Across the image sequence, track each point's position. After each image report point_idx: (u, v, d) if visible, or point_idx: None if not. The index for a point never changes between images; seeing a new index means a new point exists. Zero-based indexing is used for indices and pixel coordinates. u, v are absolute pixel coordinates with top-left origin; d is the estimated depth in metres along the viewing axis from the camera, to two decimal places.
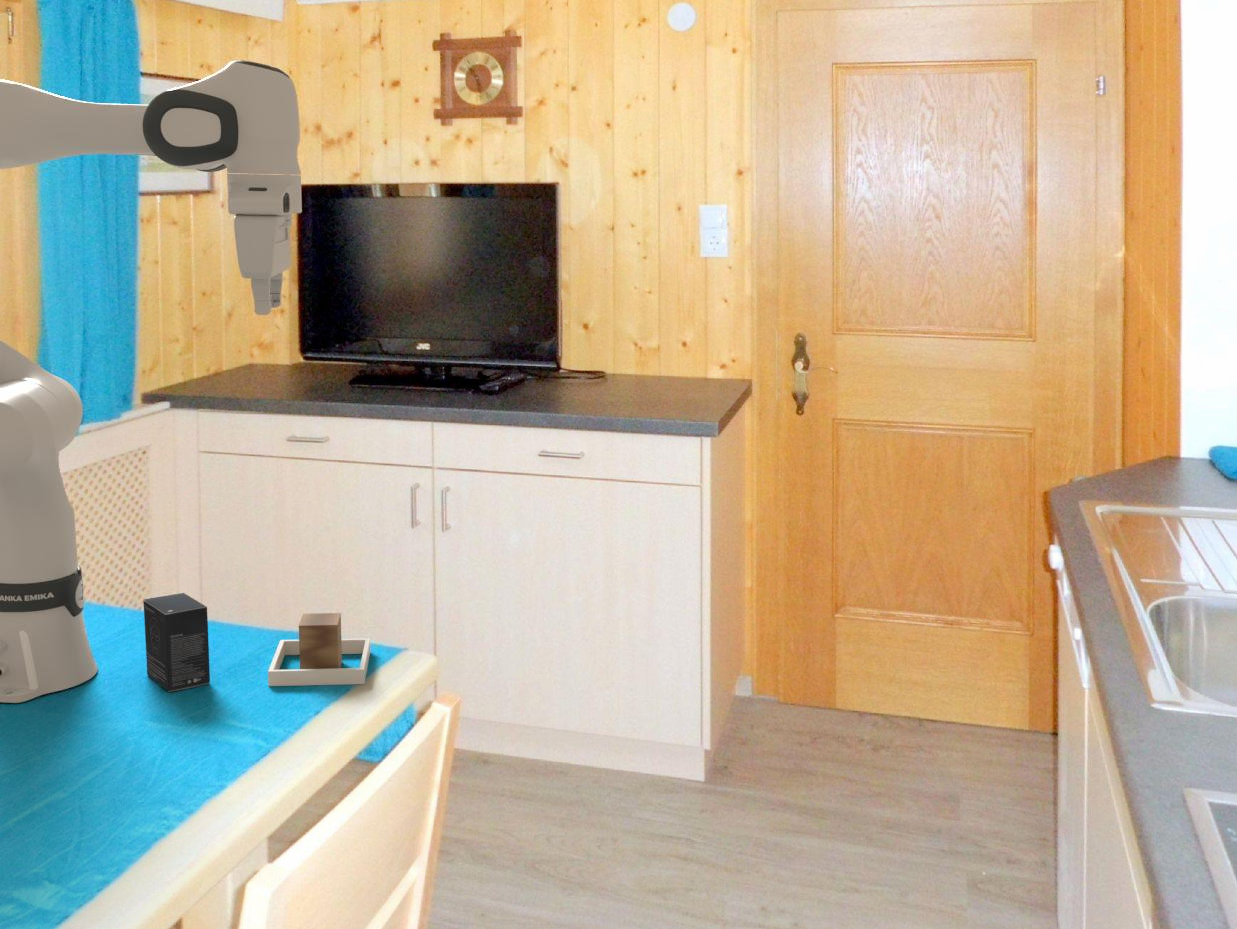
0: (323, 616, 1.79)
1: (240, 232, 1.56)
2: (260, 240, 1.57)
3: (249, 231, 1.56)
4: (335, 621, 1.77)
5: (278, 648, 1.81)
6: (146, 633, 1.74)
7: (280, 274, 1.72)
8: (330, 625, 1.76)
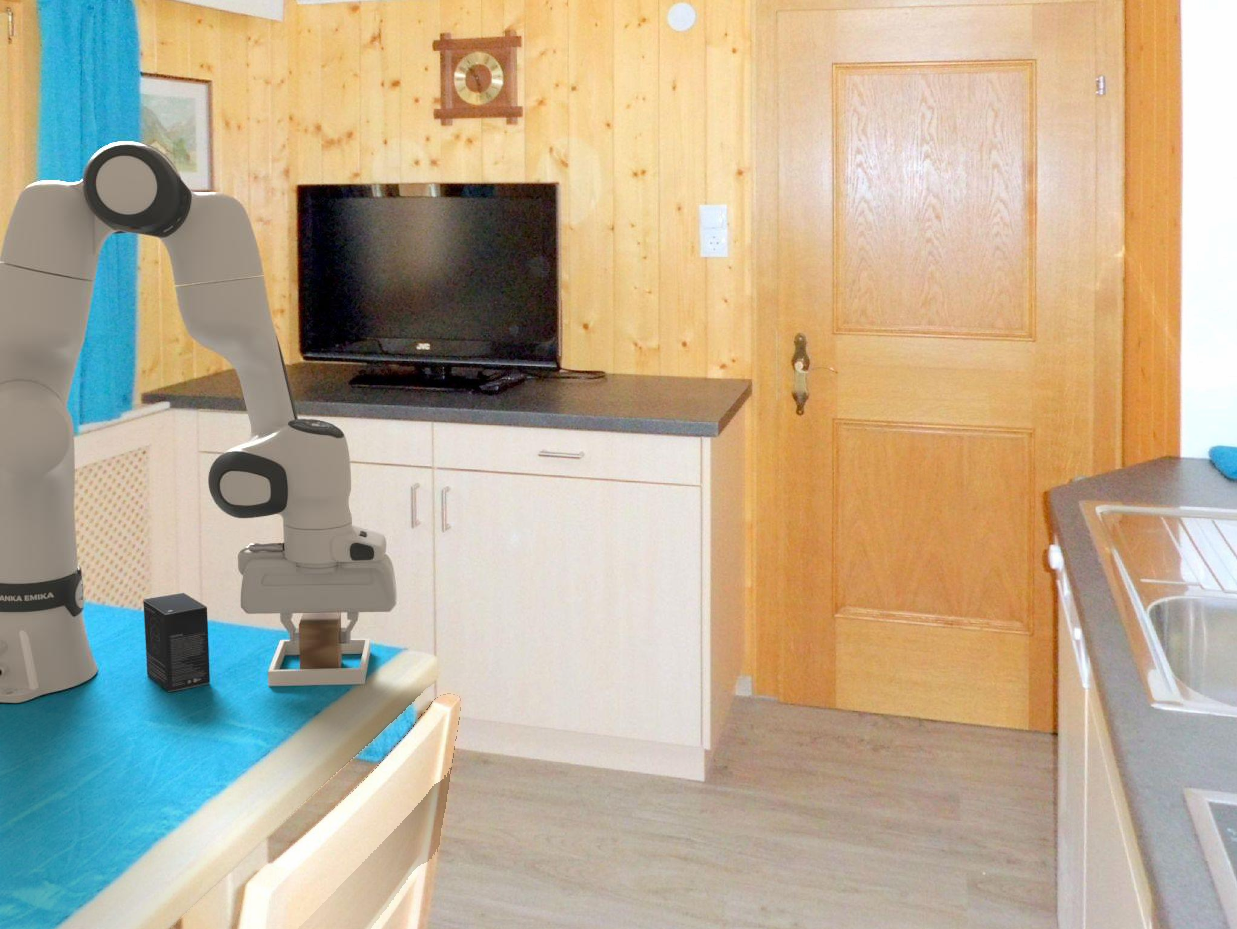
0: (323, 616, 1.79)
1: (391, 573, 1.76)
2: (393, 574, 1.78)
3: (391, 570, 1.77)
4: (335, 620, 1.77)
5: (278, 648, 1.81)
6: (146, 633, 1.74)
7: None
8: (330, 625, 1.76)
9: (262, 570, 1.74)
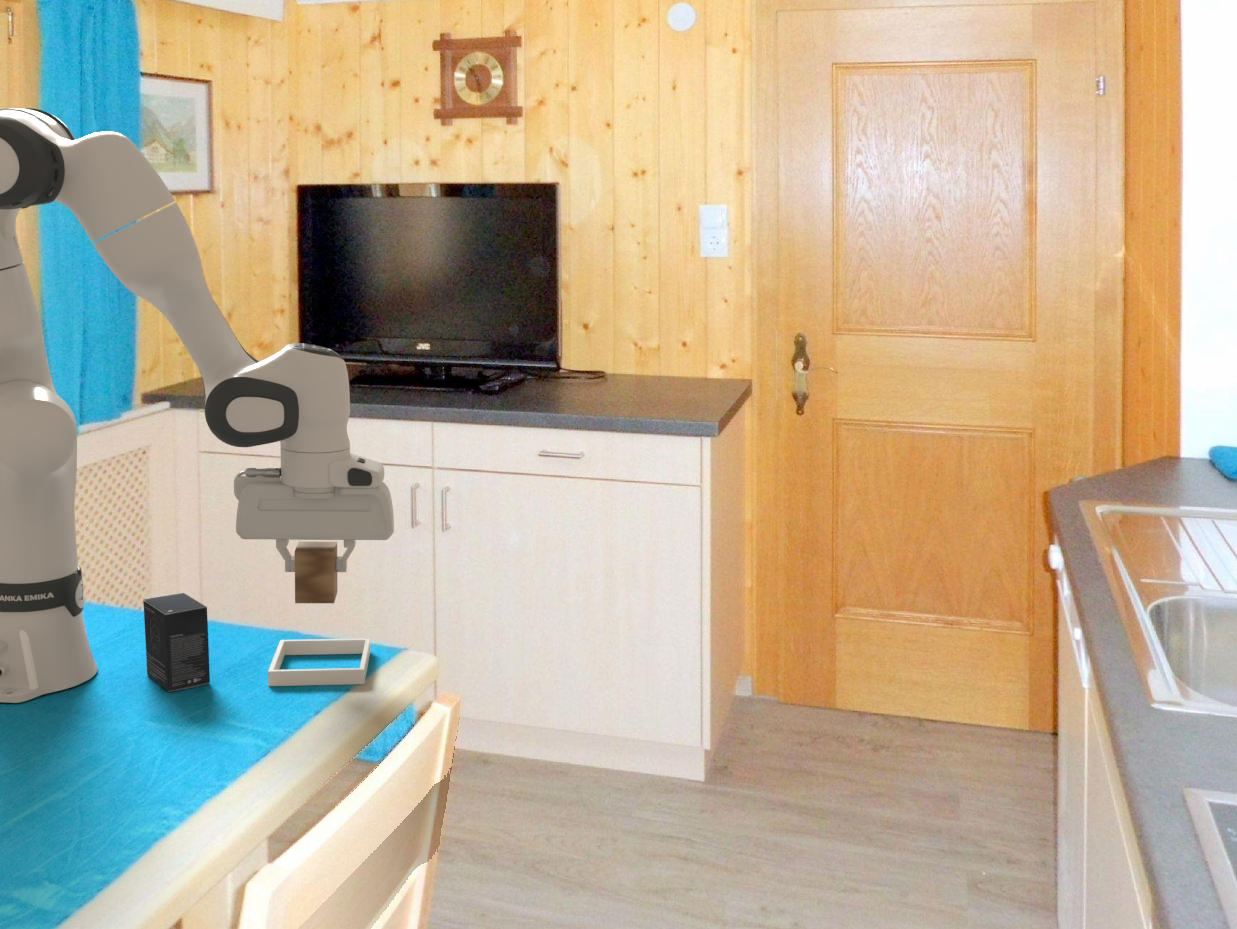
0: (319, 544, 1.77)
1: (389, 500, 1.74)
2: (391, 503, 1.77)
3: (389, 498, 1.75)
4: (332, 548, 1.75)
5: (278, 648, 1.81)
6: (146, 633, 1.74)
7: None
8: (326, 552, 1.74)
9: (258, 495, 1.72)
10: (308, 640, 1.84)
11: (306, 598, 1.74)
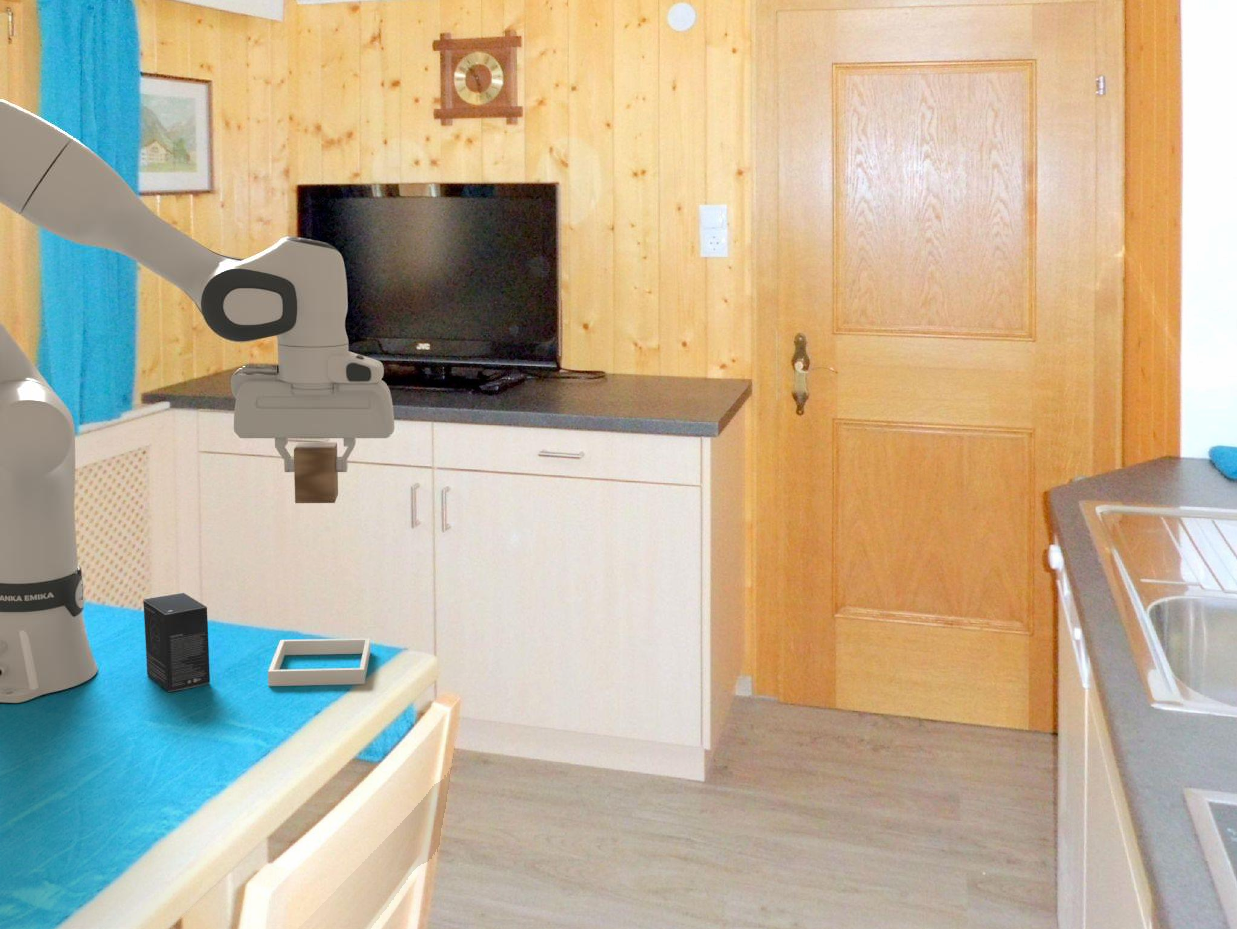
0: (318, 444, 1.74)
1: (389, 397, 1.71)
2: (391, 401, 1.74)
3: (389, 395, 1.72)
4: (331, 447, 1.72)
5: (278, 648, 1.81)
6: (146, 633, 1.74)
7: (287, 438, 1.73)
8: (326, 450, 1.71)
9: (255, 392, 1.69)
10: (308, 640, 1.84)
11: (306, 498, 1.72)
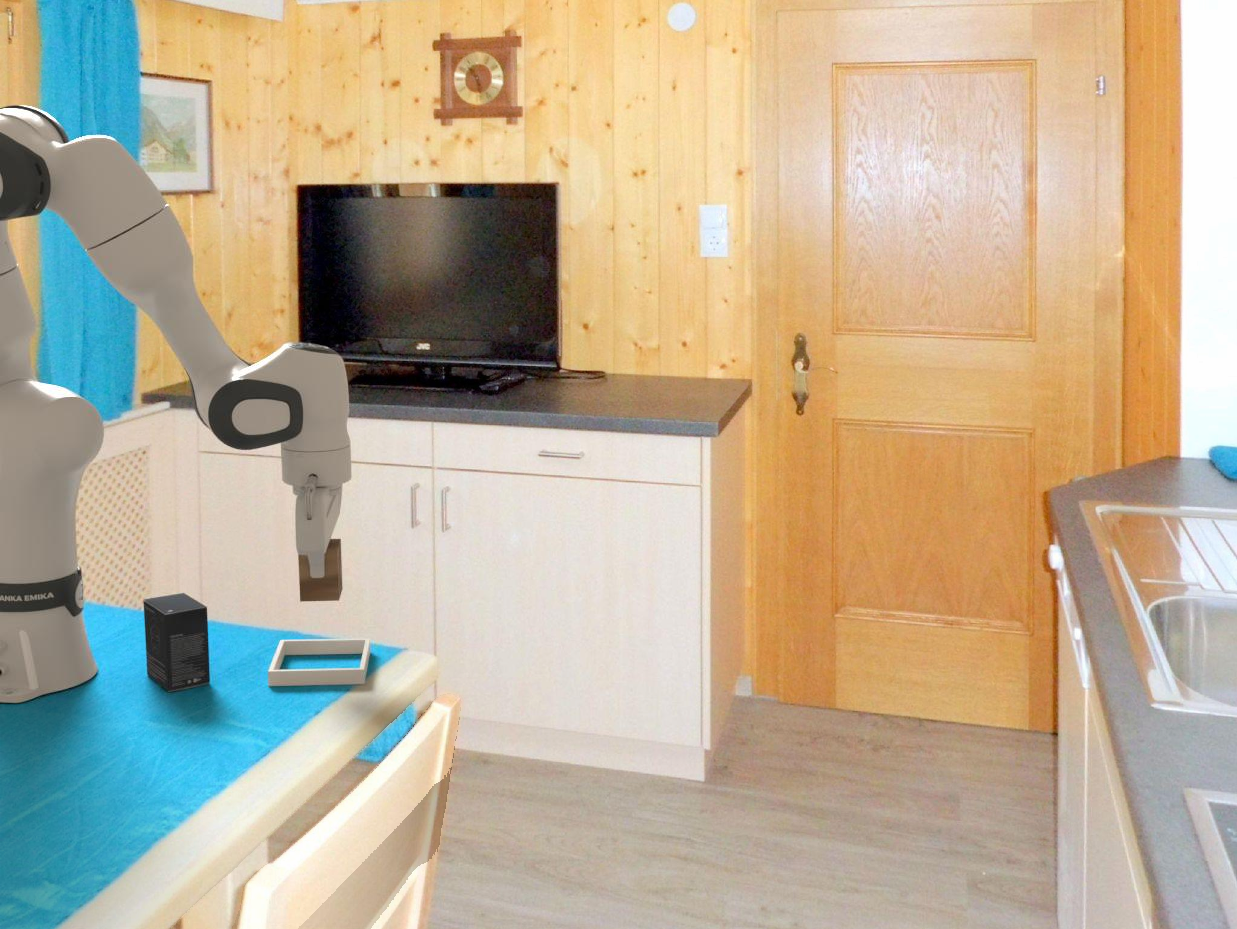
0: None
1: None
2: None
3: None
4: None
5: (278, 648, 1.81)
6: (146, 633, 1.74)
7: None
8: (340, 541, 1.77)
9: (326, 504, 1.67)
10: (308, 640, 1.84)
11: (339, 592, 1.76)
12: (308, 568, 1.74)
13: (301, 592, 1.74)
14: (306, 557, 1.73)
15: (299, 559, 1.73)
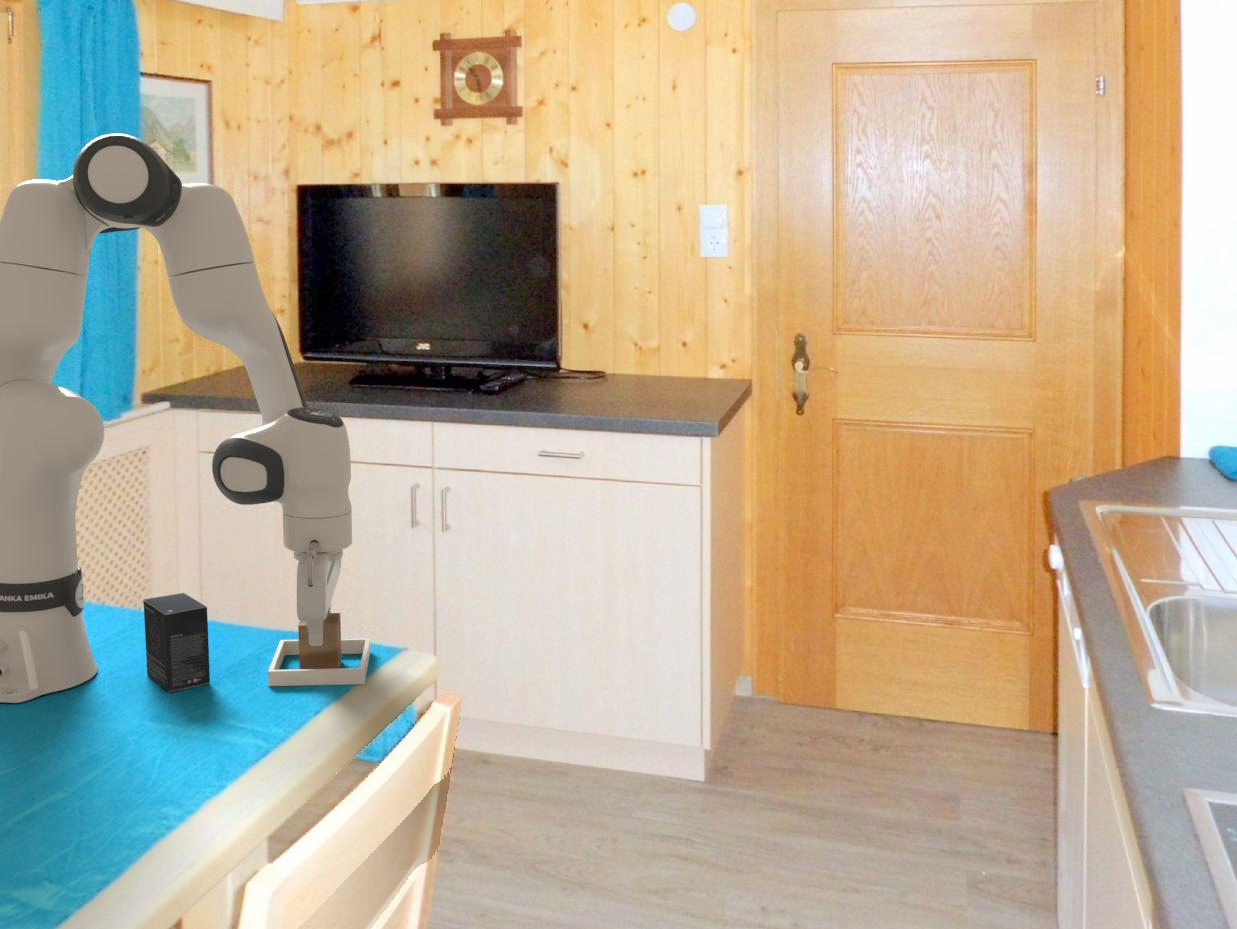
0: None
1: None
2: None
3: None
4: (328, 614, 1.80)
5: (278, 648, 1.81)
6: (146, 633, 1.74)
7: None
8: (339, 615, 1.80)
9: (327, 570, 1.69)
10: None
11: None
12: (308, 643, 1.76)
13: (301, 667, 1.76)
14: (306, 632, 1.75)
15: (299, 634, 1.75)
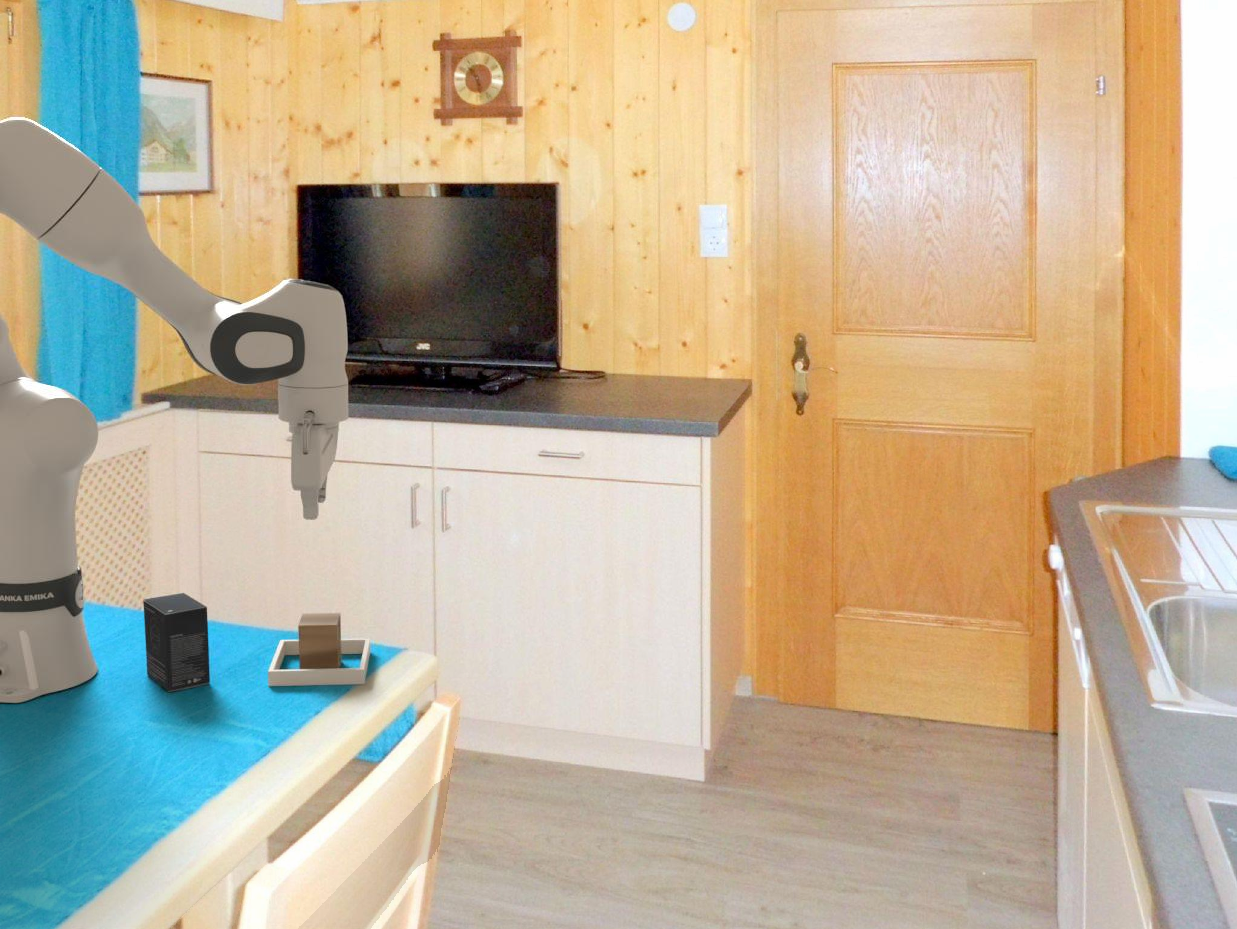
0: (311, 618, 1.78)
1: None
2: None
3: None
4: (328, 614, 1.80)
5: (278, 648, 1.81)
6: (146, 633, 1.74)
7: None
8: (339, 615, 1.80)
9: (322, 440, 1.67)
10: None
11: None
12: (308, 643, 1.76)
13: (301, 667, 1.76)
14: (306, 632, 1.75)
15: (299, 634, 1.75)
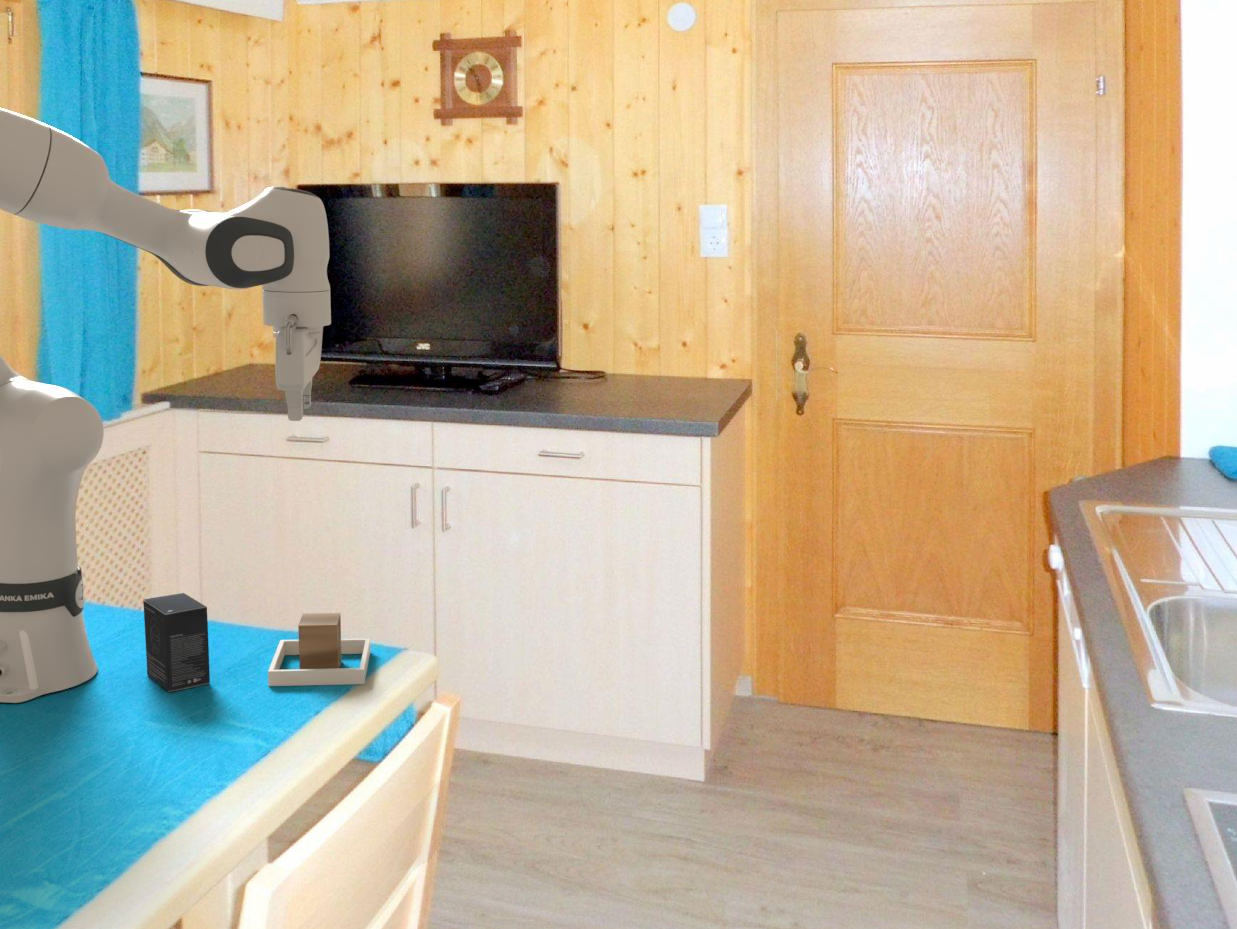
0: (311, 618, 1.78)
1: None
2: None
3: None
4: (328, 614, 1.80)
5: (278, 648, 1.81)
6: (146, 633, 1.74)
7: None
8: (339, 615, 1.80)
9: (305, 342, 1.72)
10: None
11: None
12: (308, 643, 1.76)
13: (301, 667, 1.76)
14: (306, 632, 1.75)
15: (299, 634, 1.75)
